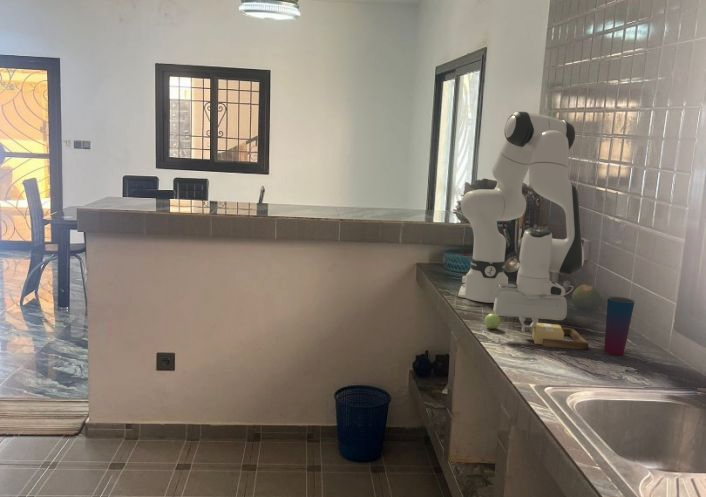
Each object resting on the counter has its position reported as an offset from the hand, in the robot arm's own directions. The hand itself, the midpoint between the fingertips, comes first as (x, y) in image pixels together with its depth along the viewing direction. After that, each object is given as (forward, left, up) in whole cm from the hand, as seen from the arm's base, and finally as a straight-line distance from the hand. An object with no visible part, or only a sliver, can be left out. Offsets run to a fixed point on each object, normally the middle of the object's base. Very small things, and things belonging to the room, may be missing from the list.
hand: (527, 332), depth 185 cm
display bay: (0, +9, -2) cm, 9 cm away
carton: (+1, +6, -2) cm, 6 cm away
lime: (-7, -9, -2) cm, 12 cm away
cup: (+8, +22, -2) cm, 24 cm away
